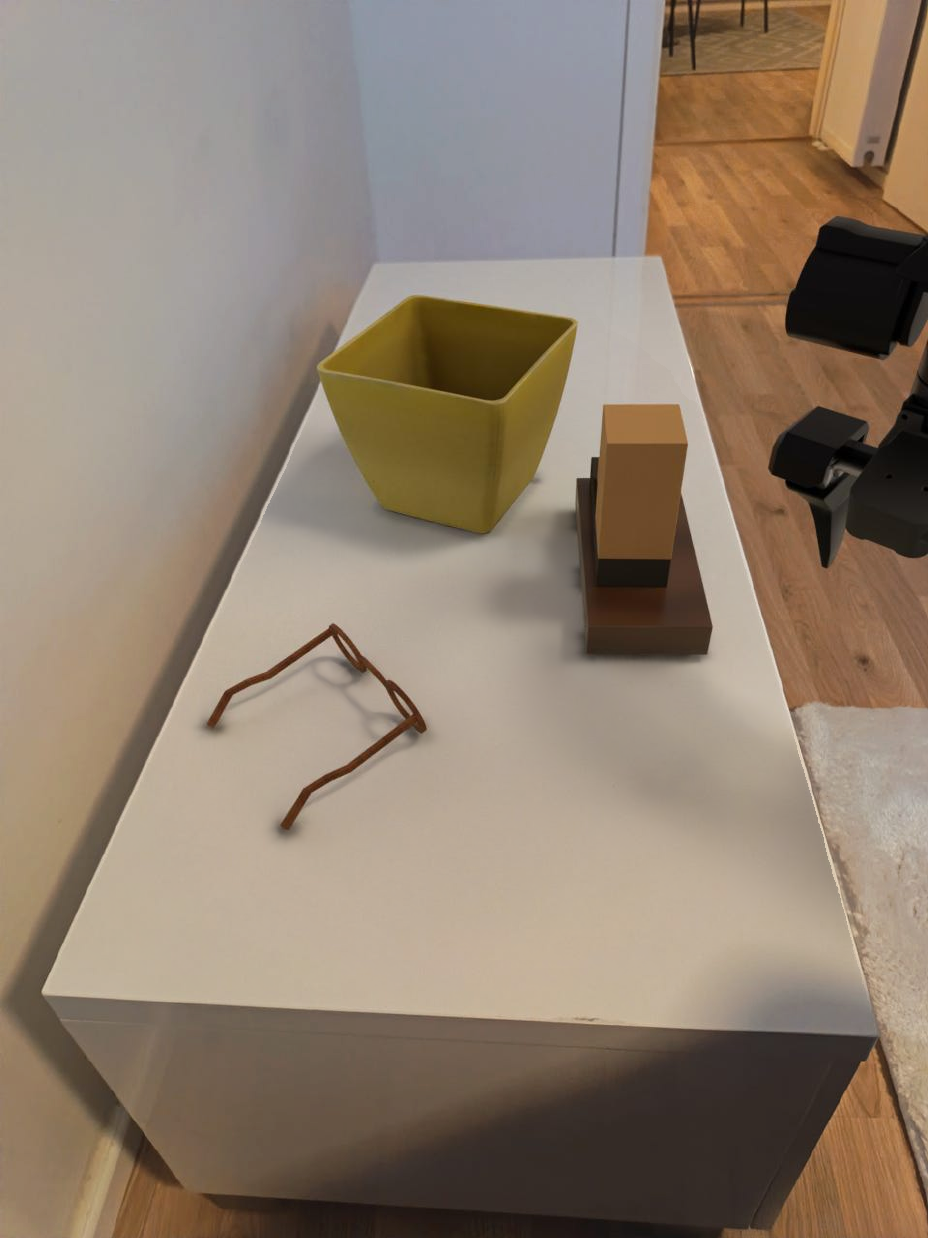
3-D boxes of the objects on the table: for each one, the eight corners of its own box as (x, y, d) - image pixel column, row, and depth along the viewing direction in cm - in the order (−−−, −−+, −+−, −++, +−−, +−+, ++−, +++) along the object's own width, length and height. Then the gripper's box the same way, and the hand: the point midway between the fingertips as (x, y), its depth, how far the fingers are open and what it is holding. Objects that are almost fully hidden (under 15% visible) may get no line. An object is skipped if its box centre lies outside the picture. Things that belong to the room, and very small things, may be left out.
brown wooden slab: (706, 662, 73) (713, 626, 70) (585, 661, 74) (588, 626, 71) (673, 509, 89) (677, 476, 86) (574, 510, 90) (576, 477, 87)
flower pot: (423, 431, 103) (411, 290, 92) (574, 464, 96) (581, 316, 85) (337, 518, 91) (311, 367, 79) (504, 563, 84) (501, 405, 73)
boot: (667, 587, 74) (688, 443, 65) (595, 586, 74) (606, 443, 65) (651, 483, 86) (667, 348, 76) (589, 482, 86) (598, 348, 77)
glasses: (432, 743, 68) (427, 699, 64) (284, 833, 62) (270, 790, 59) (343, 652, 76) (335, 609, 72) (205, 725, 70) (189, 682, 67)
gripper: (747, 384, 49) (707, 594, 59) (1122, 504, 39) (995, 730, 50) (836, 318, 55) (785, 520, 65) (1182, 408, 45) (1057, 629, 56)
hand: (892, 592), depth 59 cm, fingers open, 9 cm apart
